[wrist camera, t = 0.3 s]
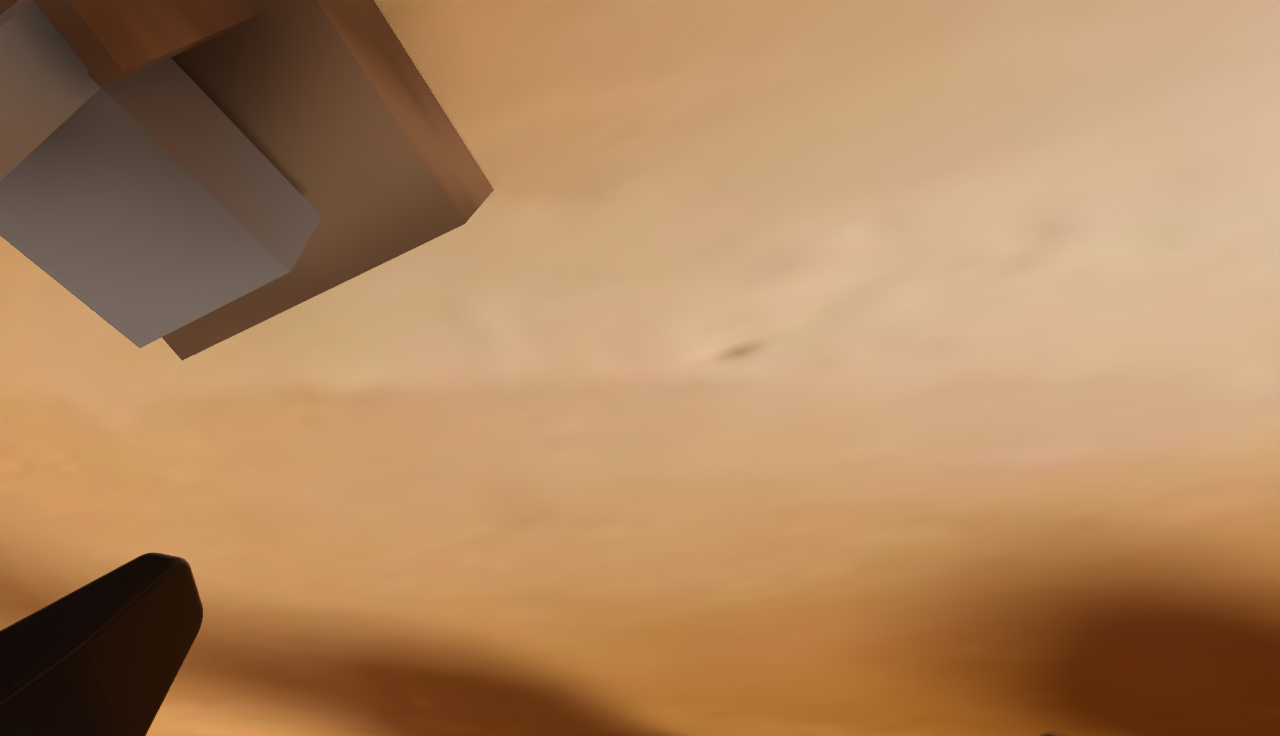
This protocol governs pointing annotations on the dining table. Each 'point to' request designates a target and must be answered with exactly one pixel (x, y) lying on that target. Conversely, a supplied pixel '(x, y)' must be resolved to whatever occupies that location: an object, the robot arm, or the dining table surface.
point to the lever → (135, 186)
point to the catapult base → (300, 125)
